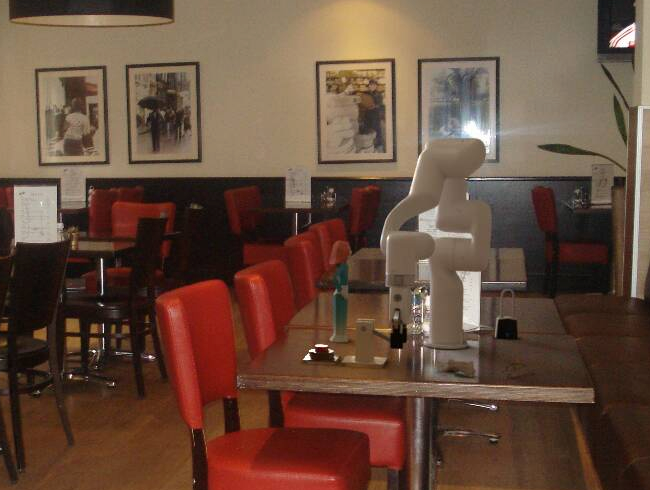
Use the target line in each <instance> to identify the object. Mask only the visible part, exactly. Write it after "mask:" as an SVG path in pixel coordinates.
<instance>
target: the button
mask: <svg viewBox="0 0 650 490" xmlns="http://www.w3.org/2000/svg"><path fill="white" fill-rule="evenodd" d="M314 349H315V352H329V349H330V347H329V345H328V344H316V345H314Z"/></svg>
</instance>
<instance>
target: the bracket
mask: <svg viewBox="0 0 650 490" xmlns="http://www.w3.org/2000/svg"><path fill="white" fill-rule="evenodd" d="M362 320H364V321H362ZM375 320H376V319H374V318H357V320H356V321H355V326H354V328H355V329H354V330H355V332H354V333H355V334H354V337H355V338H354V355H345V357H344V358H343V359H342V360H341V364H351V365H368V366H369V365H370V366H385V364H386V363H387V362H386V361H388V357H382V356H380V357H379V356H375V334H373V333H372V332H373V329H375V325H376V324H375Z"/></svg>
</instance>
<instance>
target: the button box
mask: <svg viewBox="0 0 650 490" xmlns="http://www.w3.org/2000/svg"><path fill="white" fill-rule="evenodd" d="M308 351H309V352H308V354H306V356H304V357H303V358H302V362H320V363H321V362H322V363H337V362H338V361H339V359H340V358H341V357H342V356H341V355H339V354H335V350H333V349H330V348H329V352H315V348H312V349H310V350H308Z"/></svg>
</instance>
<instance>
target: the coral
mask: <svg viewBox="0 0 650 490" xmlns="http://www.w3.org/2000/svg"><path fill="white" fill-rule="evenodd" d="M434 365H435V368H436V370H437V371H438V372H441V373H446V372H447V373H448V372H451V371H452V372H455V373H462V374H465V375H466V376H467V377H468V378H472V377H474V376H475V374H476V372H477V370H476V369H475V367H474V366H475V363H474V360H468V361H465V360H464V361H462V360H460V361H459V360H455V359H453V358H448V361H447V363H445V362H442V361H441V360H437V359H436V360H435V361H434Z"/></svg>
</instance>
